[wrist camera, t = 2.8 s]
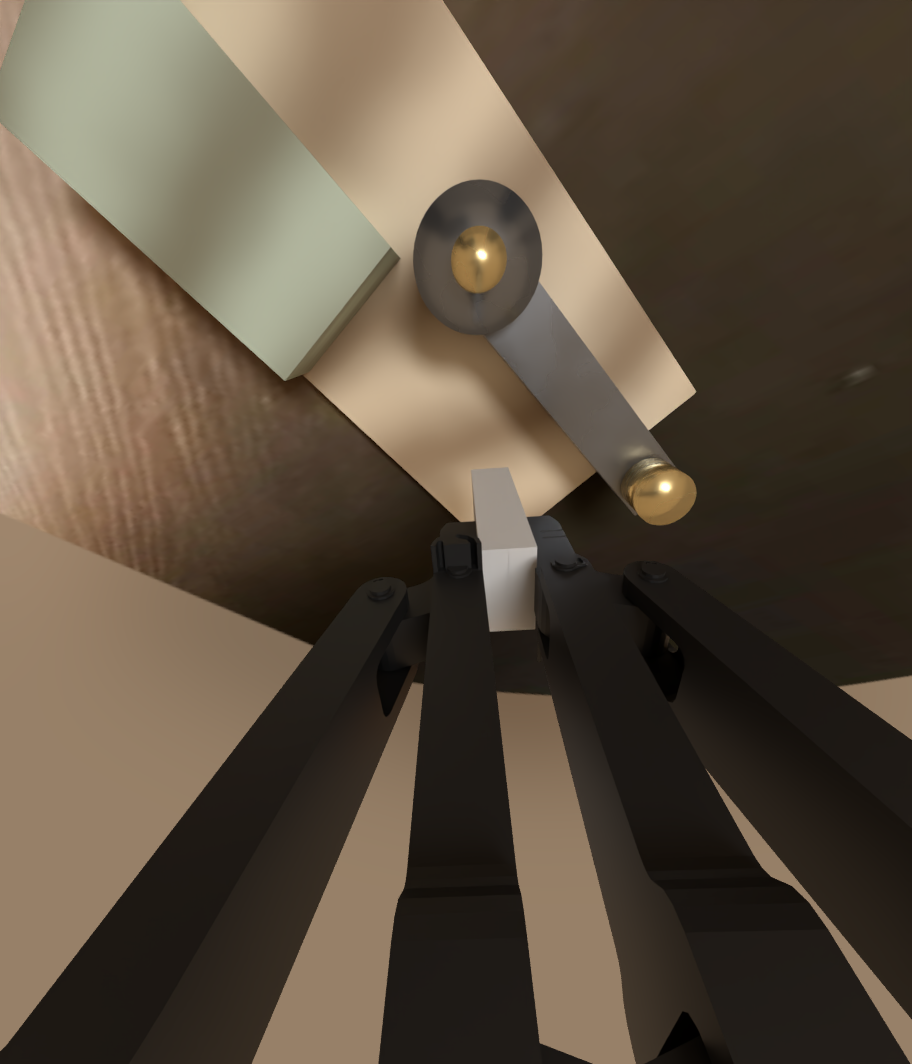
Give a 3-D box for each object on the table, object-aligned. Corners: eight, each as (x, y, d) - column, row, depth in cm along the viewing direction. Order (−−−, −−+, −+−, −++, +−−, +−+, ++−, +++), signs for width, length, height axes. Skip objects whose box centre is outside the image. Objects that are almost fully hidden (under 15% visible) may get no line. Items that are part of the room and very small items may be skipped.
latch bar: (398, 271, 17) (380, 256, 13) (476, 176, 15) (484, 124, 11) (602, 506, 22) (636, 549, 18) (674, 451, 20) (729, 484, 16)
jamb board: (69, 149, 16) (-36, 103, 12) (254, -272, 11) (171, -516, 8) (492, 546, 24) (499, 582, 21) (687, 389, 20) (735, 403, 17)
